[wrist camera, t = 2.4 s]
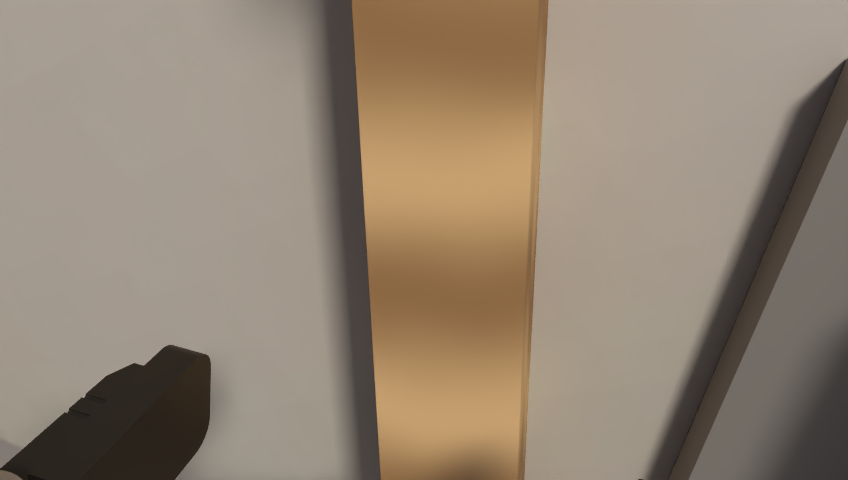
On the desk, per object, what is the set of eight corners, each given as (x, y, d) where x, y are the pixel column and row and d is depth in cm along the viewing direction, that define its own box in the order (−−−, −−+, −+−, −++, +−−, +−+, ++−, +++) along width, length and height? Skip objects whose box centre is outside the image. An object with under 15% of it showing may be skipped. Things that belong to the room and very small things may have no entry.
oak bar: (521, 535, 25) (510, 634, 22) (416, 518, 26) (388, 611, 22) (561, -244, 15) (551, -297, 12) (390, -231, 16) (334, -277, 13)
